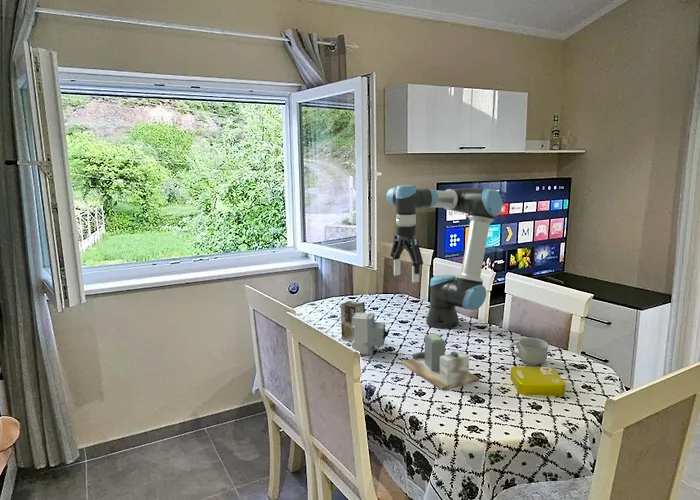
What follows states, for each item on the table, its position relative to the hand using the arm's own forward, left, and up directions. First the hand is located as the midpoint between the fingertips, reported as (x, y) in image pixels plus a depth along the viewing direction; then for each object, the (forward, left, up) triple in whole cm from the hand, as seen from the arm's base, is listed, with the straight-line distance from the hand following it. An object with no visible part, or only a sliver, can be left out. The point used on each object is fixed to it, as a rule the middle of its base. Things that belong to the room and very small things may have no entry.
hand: (406, 278), depth 201 cm
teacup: (-35, +31, -31) cm, 56 cm away
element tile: (-22, +47, -31) cm, 61 cm away
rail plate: (0, +22, -31) cm, 38 cm away
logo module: (0, +19, -29) cm, 35 cm away
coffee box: (+12, -24, -31) cm, 41 cm away
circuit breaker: (+12, -8, -31) cm, 34 cm away
